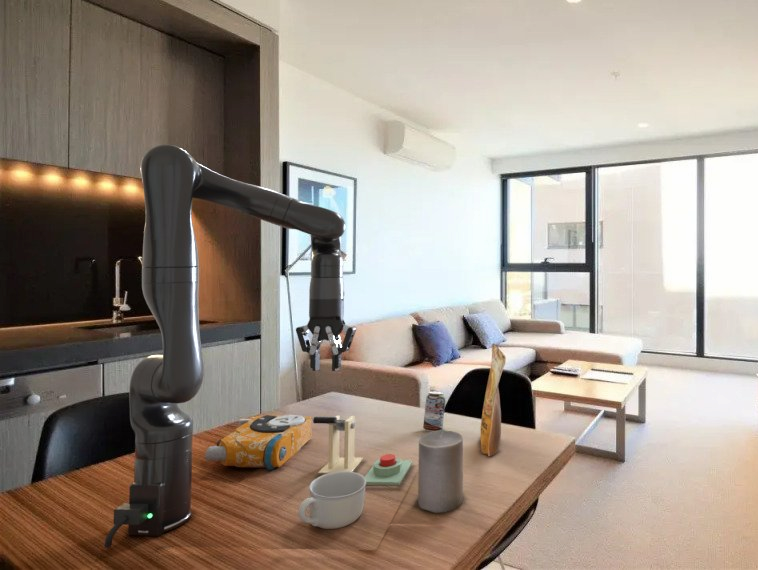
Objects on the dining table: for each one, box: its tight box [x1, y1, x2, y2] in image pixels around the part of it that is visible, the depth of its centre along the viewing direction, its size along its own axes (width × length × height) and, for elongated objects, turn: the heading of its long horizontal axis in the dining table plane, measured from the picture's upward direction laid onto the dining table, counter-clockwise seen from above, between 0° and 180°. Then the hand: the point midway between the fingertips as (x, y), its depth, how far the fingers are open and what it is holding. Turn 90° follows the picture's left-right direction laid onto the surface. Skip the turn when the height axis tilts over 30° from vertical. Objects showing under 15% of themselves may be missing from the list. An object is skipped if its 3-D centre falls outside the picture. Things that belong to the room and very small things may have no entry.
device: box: [204, 414, 313, 471], centre depth 126 cm, size 23×8×30 cm
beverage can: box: [422, 390, 446, 432], centre depth 143 cm, size 6×7×12 cm
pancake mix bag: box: [479, 343, 507, 457], centre depth 131 cm, size 7×19×28 cm, turn 4°
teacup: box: [297, 471, 367, 530], centre depth 90 cm, size 14×11×8 cm
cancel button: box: [379, 453, 396, 467], centre depth 111 cm, size 4×4×2 cm
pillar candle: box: [417, 430, 464, 514], centre depth 99 cm, size 10×10×15 cm
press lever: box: [312, 416, 347, 432], centre depth 111 cm, size 13×5×2 cm, turn 178°
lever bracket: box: [317, 415, 364, 474], centre depth 115 cm, size 9×8×13 cm
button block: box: [364, 457, 413, 486], centre depth 111 cm, size 12×9×4 cm
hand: (325, 369), depth 106 cm, fingers open, 4 cm apart
